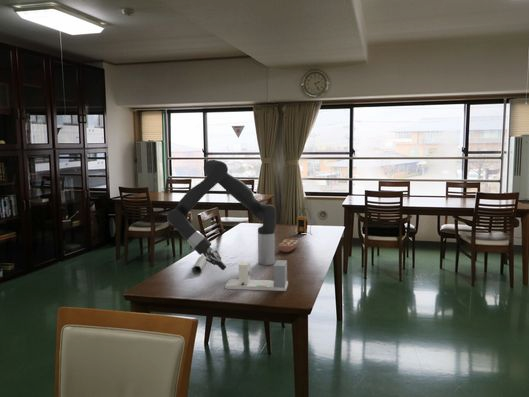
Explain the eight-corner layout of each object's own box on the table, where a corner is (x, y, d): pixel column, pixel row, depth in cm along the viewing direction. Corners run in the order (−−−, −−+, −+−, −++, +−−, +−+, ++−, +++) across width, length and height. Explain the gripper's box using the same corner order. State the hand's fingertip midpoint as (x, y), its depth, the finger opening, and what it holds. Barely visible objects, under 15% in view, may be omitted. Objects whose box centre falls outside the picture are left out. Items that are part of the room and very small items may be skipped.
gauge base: (230, 282, 214) (229, 258, 213) (288, 284, 210) (288, 260, 208) (225, 288, 204) (224, 264, 203) (285, 290, 200) (285, 266, 199)
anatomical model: (285, 245, 294) (285, 238, 293) (300, 246, 291) (300, 238, 290) (277, 253, 272) (276, 245, 271) (292, 254, 269) (292, 246, 269)
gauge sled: (241, 280, 211) (241, 261, 210) (252, 280, 210) (252, 261, 209) (238, 285, 203) (237, 266, 202) (249, 285, 202) (248, 266, 201)
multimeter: (315, 233, 335) (315, 206, 332) (309, 235, 326) (309, 208, 324) (298, 231, 343) (298, 205, 340) (292, 233, 334) (292, 207, 332)
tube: (197, 256, 251) (190, 267, 226) (206, 253, 251) (199, 264, 226) (200, 264, 252) (193, 277, 227) (209, 261, 252) (203, 273, 227)
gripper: (200, 240, 202) (226, 267, 201) (208, 234, 215) (233, 259, 214) (189, 251, 203) (215, 278, 203) (198, 245, 216) (223, 270, 216)
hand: (224, 268), depth 208 cm, fingers closed
